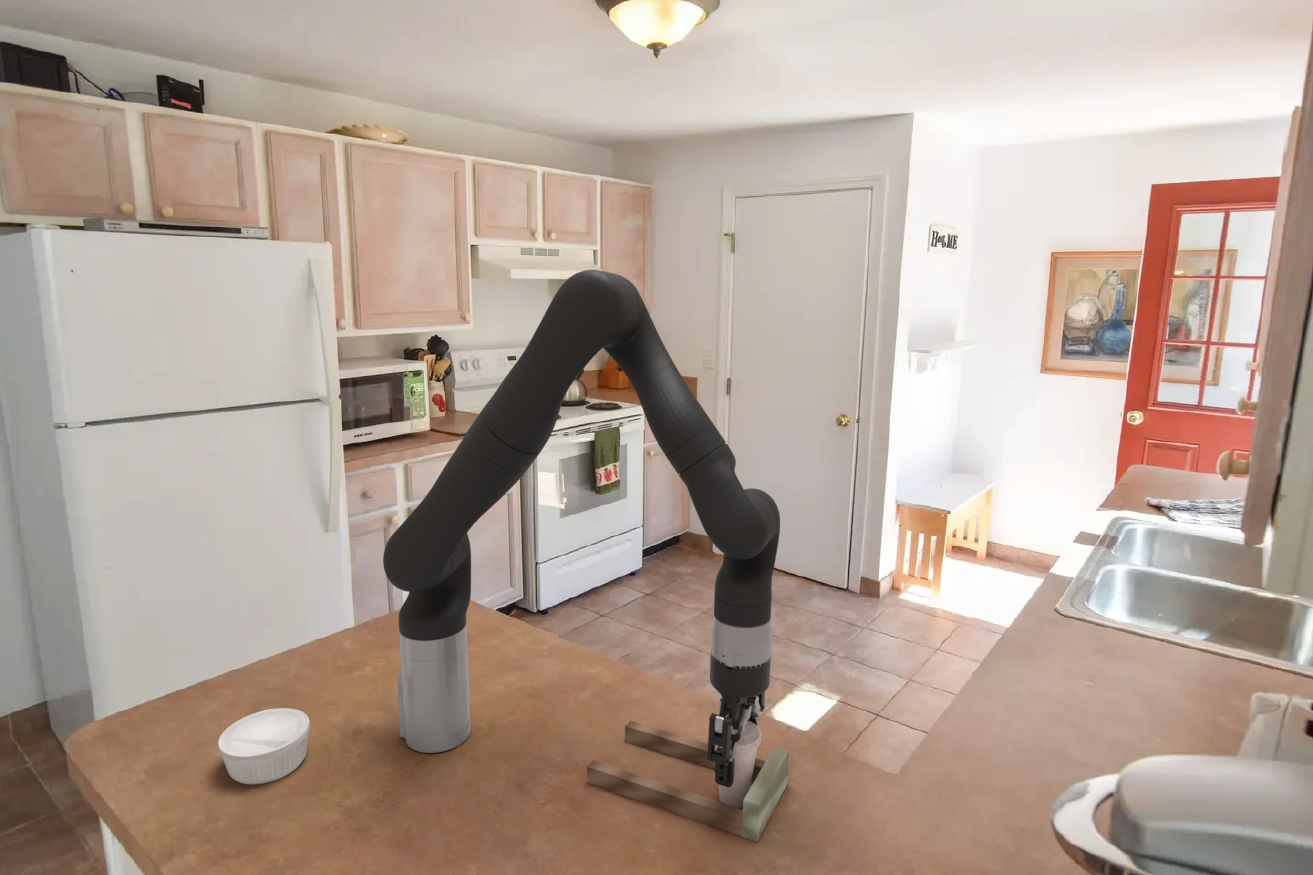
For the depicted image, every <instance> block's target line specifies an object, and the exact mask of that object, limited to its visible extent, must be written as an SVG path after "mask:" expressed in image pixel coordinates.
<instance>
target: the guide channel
mask: <svg viewBox="0 0 1313 875" xmlns="http://www.w3.org/2000/svg"><path fill="white" fill-rule="evenodd" d="M624 741H625V742H627V743H629V744H630V743H631V744H634V745H637V746H641V747H643V748H645V749H646V748H647V749H650V750H653V751H656V752H659V753H663V754H664V755H669V756H672V757H676V758H678V759H682V760H685V761H687V762H688V761H689V762H691V763H694V764H698V765H701V766H702V767H703V766H704V767H707V768H709V769H713V768H714V769H713V770H715V764H716V762H713V761H709V760H708V759H707V754H708V742H703V741H699V740H697V739H692V738H690V737H686V736H682V735H680V734H676V733H674V732H669V731H667V730H663V729H660V728H656V727H653V726H650V725H646V724H643V723H639V722H638V721H637V722H636V721H633V720H629V721H628V723H626V724H625V725H624ZM789 758H790V750H789V749H785V748H782V747H778V746H774V747H773V748H772V750H771V751H770V754H769V755H768V757H767V759H766V760H763V759H760V758H757V757H756V758H755V764H754V769H753V775H752V781H751V782H753V783H751V786H750V790H749V791H748V793H747V795H746V797H745V798H744V800H743V806H742V809H741V808H740V807H739V808H736V807H733V806H730V805H727V804H724V803H722V802H721V801H717V800H714V799H712V798H708V797H705V796H702V795H700V794H696V793H693V792H691V791H687V790H686V789H685V790H684V789H681V788H678V787H676V786H673V785H669V784H667V783H663V782H661V781H657V780H654V779H652V778H649V777H645V776H642V775H640V774H636V773H634V772H631V771H627V770H625V769H621V768H619V767H615V766H612V765H609V764H607V763H603V762H601V761H599V760H595V759H593V760H591V762H590V763H588V764H587V765H586V783H588V784H591V785H594V786H596V787H598V788H602V789H605V790H607V791H610V792H612V793H616V794H618V795H622V796H625V797H628V798H631V799H633V800H637V801H639V802H642V803H644V804H648V805H650V806H654V807H656V808H659V809H662V810H665V811H668V812H671V813H673V814H676V815H679V816H682V817H683V818H684V817H685V818H687V819H690V820H693V821H697V822H699V823H702V824H704V825H708V826H709V827H713V828H715V829H719V830H722V831H725V832H727V833H730V834H733V835H736V836H738V837H742V838H745V839H747V840H750V841H754V842H755V843H758V842H759V840H760V838H761V836H762V835H763V832H764V830H765V828H766V826H767V825H768V822H769V820H770V819H771V817H772V815H773V813H774V811H775V809H776V806H777V804H778V803H779V801H780V799H781V797H782V795H783V793H784V791H785V789H786V787H787V785H788V778H789V777H788V776H789V762H790V761H789Z"/></svg>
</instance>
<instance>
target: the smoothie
mask: <svg viewBox="0 0 1313 875" xmlns="http://www.w3.org/2000/svg"><path fill="white" fill-rule="evenodd" d="M737 732H738V730H734V729H732V730H731V734H736V733H737ZM761 736H762V732H761V730H760V727H758V725H757V726H756V725H755V724H754V723H752V722H750V721H747V723H746V727H745V731H744V736H743V740H742V742H741V743H738V744H737V748H736V753H735V758H734V782H733V784H732V786H731V787H725V786H722V785H719V784H717V786H718V795H719V797H718V798H719V800H720V801H719V802H721V803H724V804H727V805H730V806H733V807H736V808H739V809H740V808H743V800H744V798H745V797H746V795H747V793H748V791H749V790H750V788H751V786H752V782H753V781H752V775H753V769H754V764H755V758H757V752H758V747H759V746H760V745H761V742H762V738H761ZM730 746H731V744H730ZM721 748H722V747H721Z"/></svg>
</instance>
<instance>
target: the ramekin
mask: <svg viewBox="0 0 1313 875" xmlns="http://www.w3.org/2000/svg"><path fill="white" fill-rule="evenodd" d="M310 727H311V722H310V718H309V716H308V715H307V714H306V713H305V712H304V711H302V710H299V709H294V708H285V707H284V708H282V707H281V708H280V707H279V708H270V709H269V708H268V709H265V710H260V711H257V712H254V713H252V714H249V715H246V716H244V717H243V718H242V717H241V719H239V720H237V721H235V722H233V723H232V724H231V725H229V726H228V727H227V728H226V729H224V731H222V732H221V734H220V735H219V738H218V739H217V740H218V741H217V750H218V753H219V755H220V756H221V757H222V759H223V763H224V765H225V767H226V771H227V773H228V775H229V777H231V779H233V780H234V781H236V782H238V783H241V784H244V785H252V786H253V785H263V784H266V783H271V782H274V781H277V780H279V779H282V778H285V777H286V776H287V775H290V774H291V773H293V772H294V771H295V770H297V768H298V767H299V766H300V765H301V764H302V762H303V760H304V759H305V757H306V754H307V751H308V742H309V740H308V739H309V733H310V729H311V728H310Z"/></svg>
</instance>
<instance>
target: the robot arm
mask: <svg viewBox="0 0 1313 875" xmlns="http://www.w3.org/2000/svg"><path fill="white" fill-rule="evenodd" d="M602 349H603V350H604V351H605V352H606V353H607V354H608V355H609V356H610V358H612V359H613V360H614V362H616V364H617V365H618V367H620V369H621V371H622V372H623V373H624V375H625V376H626V378H627V379H628V380H629V383H630V385H631V387H632V388H633V390H634V392H635V394H636V396H637V398H638V401H639V403H640V406H641V409H642V411H643V414H644V416H645V418H646V421H647V424H648V427H649V428H650V431H651V433H652V435H653V438H654V439H655V441H656V443H657V445H658V446H659V448H660V450H661V451H662V453H663V454H664V456H665V457H666V459H667V460H668V462H669V463H670V465H671V466H672V468H673V469H674V470H675V472H676V473H677V475H678V477H679V478H680V479H681V480H682V482H683V483H684V485H685V486H686V488H687V491H688V494H689V497H690V499H691V502H692V504H693V506H694V509H695V512H696V514H697V517H698V519H699V521H700V523H701V526H702V528H703V529H704V532H705V534H706V535H707V537H708V538H709V540H710V541H711V543H712V544H713V545H714V547H716V549H718V550H719V551H720V552H721V553H722V554H723V560H722V564H721V567H720V569H719V570H718V573H717V574H716V577H715V582H714V592H713V593H714V598H713V619H712V624H711V631H710V654H709V655H710V657H709V658H710V659H709V660H710V662H709V681H710V684H711V685H712V688H714V689H715V690H716V691H717V692H718V693H719V694H720V696H721V698H720V700H719V701H718V706H717V711H718V714H717V713H714V712H711V714H710V716H709V717H708V720H709V721H708V739H707V744H708V754H707V759H708V760H709V761H713V762H716V764H715V769H714V781H715V784H716V785H718V784H719V785H722V786H725V787H731V786H732V784H733V782H734V758H735V753H736V748H737V744H738V743H741V742H742V740H743V736H744V731H745V727H746V723H747V721H750V722H752V723H754V724H755V725H756V726H757V727H758V724H759V722H760V720H761V712H762V713H763V712H764V710H765V707H766V706H765V702H766V701H765V700H766V699H765V698H766V697H765V696H766V691H767V690H768V688H769V687H770V684H771V682H770V681H771V663H772V660H771V659H772V644H773V643H772V642H773V635H772V631H773V630H772V622H771V620H772V619H771V617H772V600H773V597H772V596H773V594H772V593H773V592H772V590H773V589H772V587H773V586H772V584H773V581H772V580H773V574H774V569H775V563H776V560H777V552H778V547H779V541H780V534H781V516H780V511H779V507H778V505H777V503H776V502H775V500H774V499H773V497H772V496H771V495H769V493H767V492H765V491H764V490H762V489H759V488H744V487H743V486H742V484H741V482H740V480H739V478H738V476H737V474H736V472H735V470H736V464H737V462H736V461H737V460H736V457H735V455H734V453H733V451H732V449H731V448H730V446H729V444H728V443H727V441H726V440H725V438H724V437H723V436H722V434H721V432H720V431H719V429H718V428H717V427H716V426H715V424H714V422H713V421H712V419H711V418H710V417H709V415H708V414H707V412H706V411H705V410H704V408H703V406H702V405H701V404H700V401H699V400H698V399H697V398H696V396H695V394H694V393H693V392H692V390H691V389H690V386H689V385H688V384H687V382H686V381H685V379H684V378H683V375H682V374H681V373H680V371H679V370H678V368H677V366H676V364H675V363H674V361H673V359H672V357H671V356H670V354H669V352H668V350H667V348H666V346H665V344H664V342H663V340H662V339H661V337H660V335H659V332H658V330H657V328H656V326H655V324H654V322H653V319H652V317H651V315H650V313H649V310H648V308H647V306H646V304H645V302H644V300H643V298H642V296H641V294H640V292H639V290H638V289H637V287H636V285H634V284H633V282H632V281H630V280H629V279H628V278H626V277H624V276H622V275H620V274H617V273H614V272H609V271H605V270H597V269H585V270H582V271H578V272H576V273H574V274H573V275H571V276H569V277H568V278H567V279H566V280H565V281H564V282H563V283H562V284H561V286H560V287H559V288H558V290H557V291H556V293H555V294H554V297H553V298H552V300H551V302H550V303H549V305H548V307H547V309H546V311H545V313H544V315H543V317H542V318H541V320H540V321H539V324H538V325H537V328H536V329H535V331H534V334H533V335H532V337H531V339H530V341H529V342H528V344H527V345H526V348H525V349H524V350H523V352H522V354H520V357H519V359H518V360H516V362H515V364H514V365H513V366H512V368H511V369H510V370H509V372H508V373H507V375H505V377H504V379H503V380H502V381H501V383H500V384H499V386H498V387H497V389H496V391H494V393H493V395H492V396H491V397H490V399H489V400H488V401H487V402H486V404H485V405H484V406H483V408H482V409H481V411H480V412H479V414H477V417H476V418H475V420H474V421H473V422H472V424H471V425H470V427H469V429H468V430H467V431H466V433H465V434H464V436H463V438H462V440H461V442H460V443H459V444H458V446H457V447H456V449H455V450H454V451H453V453H452V455H451V456H450V458H449V459H448V461H447V462H446V464H445V465H444V467H443V469H442V470H441V472H440V474H439V475H438V477H437V478H436V480H435V483H433V485H432V487H430V489H429V491H428V493H426V495H425V496H424V498H423V499H422V500H421V502H420V503H419V504H418V505H417V506H416V507H415V509H414V510H412V512H411V513H410V514H409V516H407V518H406V519H405V520H403V522H402V523H401V525H399V527H398V528H397V529H396V530H395V531H394V532H393V533H392V534H391V536H390V537H389V538H388V541H387V542H386V544H385V547H384V551H383V554H382V555H383V556H382V559H383V560H382V563H383V569H384V573H385V575H386V578H387V579H388V581H389V582H390V584H392V586H394V587H395V588H396V589H398V590H402V591H403V592H407V593H408V595H407V597H406V599H405V601H404V602H403V604H402V605H401V607H400V609H399V613H398V633H399V646H400V647H399V649H400V662H401V663H400V664H401V674H399V675H398V677H396V688H397V689H396V690H397V705H398V721H399V737H400V738H403V739H404V740H405V743H406V745H407V746H408V748H410V749H412V750H413V751H416V752H419V753H426V754H428V753H430V754H433V753H435V754H436V753H442V752H446V751H448V750H452V749H454V748H456V747H459V746H460V745H462V744H463V743H464V742H465V741H467V739H468V738H469V736H470V733H471V713H470V710H471V707H470V685H469V684H470V683H469V682H470V680H469V679H470V678H469V658H468V653H469V651H468V634H467V633H468V632H467V631H468V630H467V611H468V609H469V606H470V602H471V597H472V596H471V595H472V550H471V549H472V548H471V542H470V538H469V535H468V532H469V531H470V530H471V528H472V527H473V526H474V525H475V523H477V522H478V521H479V519H480V518H482V516H484V515H485V514H486V513H487V512H488V511H489V510H490V509H491V508H492V507H494V505H496V504H497V503H498V502H499V501H500V500H501V499H502V498H503V497H504V496H505V495H506V494H507V493H508V492H509V491H510V490H511V489H512V488H513V487H514V486H515V485H516V484H517V482H519V480H520V479H521V478H522V477H523V476H524V475H525V474H526V472H528V470H529V468H530V467H531V466H532V465H533V463H534V461H536V459H537V457H538V456H539V455H540V454H541V452H542V451H543V449H544V447H545V446H546V445H547V443H548V441H549V439H550V438H551V436H552V433H553V431H554V429H555V425H556V423H557V420H558V417H559V414H560V412H561V411H560V410H561V408H562V405H563V402H564V399H565V397H566V395H567V393H568V391H569V390H570V387H571V386H572V384H573V383H574V381H575V380H576V379H577V377H578V376H579V375H580V374H581V373H582V371H583V370H584V369H585V368H586V366H587V365H588V364H589V363H590V362H591V361H592V360H593V358H594V357H595V356H596V355H597V354H598V353H599V352H600V351H601V350H602ZM732 729H734V730H738V732H737V733H736V734H731V730H732ZM730 744H731V746H730ZM721 747H722V748H721Z"/></svg>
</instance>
